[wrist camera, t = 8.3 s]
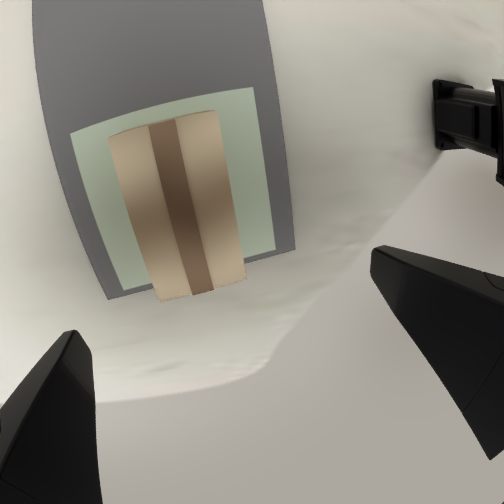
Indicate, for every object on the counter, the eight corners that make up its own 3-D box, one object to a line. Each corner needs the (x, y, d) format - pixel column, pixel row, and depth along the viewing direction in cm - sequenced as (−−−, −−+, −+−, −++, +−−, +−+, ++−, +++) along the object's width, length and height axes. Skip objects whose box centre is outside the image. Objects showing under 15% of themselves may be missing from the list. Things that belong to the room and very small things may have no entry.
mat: (236, -99, 8) (238, -104, 7) (292, 245, 22) (296, 250, 21) (39, -55, 6) (36, -59, 5) (109, 295, 20) (107, 300, 19)
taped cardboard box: (231, 247, 20) (247, 280, 16) (159, 266, 19) (159, 303, 15) (206, 110, 15) (217, 110, 12) (121, 131, 14) (107, 137, 11)
